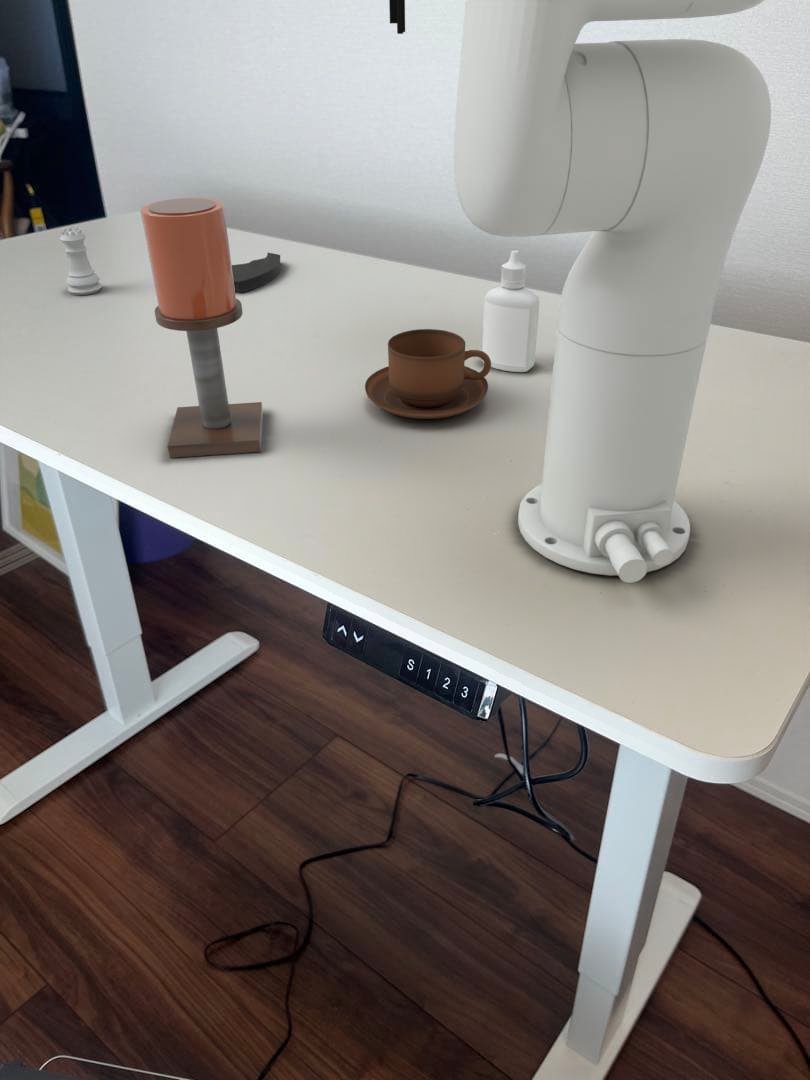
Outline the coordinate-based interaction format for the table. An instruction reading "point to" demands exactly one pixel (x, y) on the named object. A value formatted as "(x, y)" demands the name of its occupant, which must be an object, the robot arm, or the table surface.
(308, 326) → the table surface
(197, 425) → the cat scratching post
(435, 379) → the cup and saucer
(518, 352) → the eye dropper bottle
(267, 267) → the fan shaped piece
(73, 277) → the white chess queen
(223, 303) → the terracotta cup
